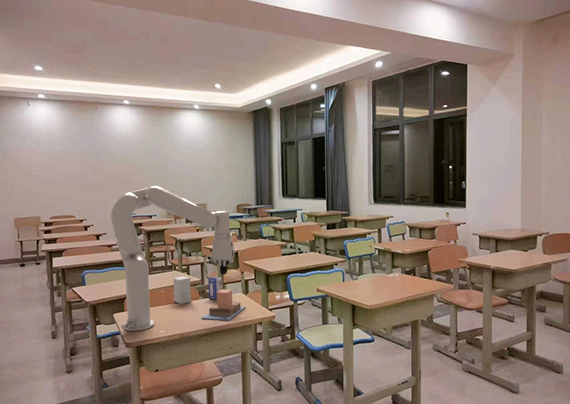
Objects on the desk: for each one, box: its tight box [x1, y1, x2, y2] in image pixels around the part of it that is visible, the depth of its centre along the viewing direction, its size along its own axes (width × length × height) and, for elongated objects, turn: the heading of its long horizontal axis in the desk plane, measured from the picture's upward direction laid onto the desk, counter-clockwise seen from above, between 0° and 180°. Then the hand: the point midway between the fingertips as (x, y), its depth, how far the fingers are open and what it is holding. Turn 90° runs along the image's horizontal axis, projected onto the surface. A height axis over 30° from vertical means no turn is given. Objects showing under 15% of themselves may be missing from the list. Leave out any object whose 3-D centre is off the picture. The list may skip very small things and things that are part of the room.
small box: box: [173, 275, 192, 305], centre depth 221 cm, size 8×6×13 cm
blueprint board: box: [201, 306, 246, 322], centre depth 197 cm, size 20×14×1 cm
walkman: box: [207, 276, 224, 301], centre depth 224 cm, size 8×3×12 cm, turn 58°
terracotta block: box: [216, 289, 233, 307], centre depth 198 cm, size 6×6×7 cm
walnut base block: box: [208, 301, 242, 316], centre depth 198 cm, size 12×11×3 cm
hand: (223, 273), depth 198 cm, fingers closed
